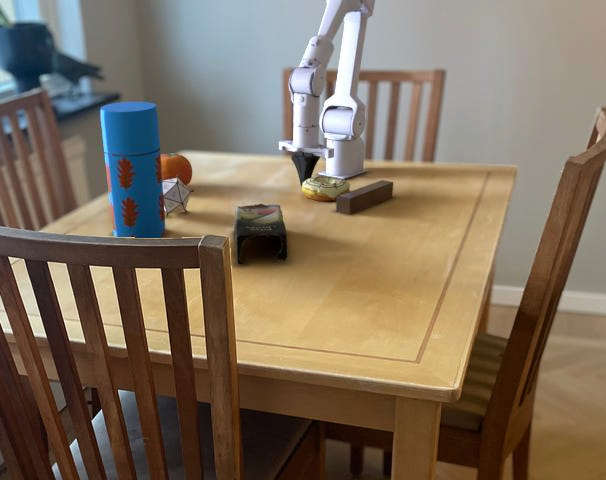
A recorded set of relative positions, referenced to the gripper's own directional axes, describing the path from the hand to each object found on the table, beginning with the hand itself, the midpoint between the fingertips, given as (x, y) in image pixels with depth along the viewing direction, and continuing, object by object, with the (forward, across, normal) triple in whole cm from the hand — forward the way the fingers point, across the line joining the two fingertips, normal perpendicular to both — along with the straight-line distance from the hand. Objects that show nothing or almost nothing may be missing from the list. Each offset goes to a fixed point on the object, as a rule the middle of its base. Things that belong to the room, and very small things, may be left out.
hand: (305, 185), depth 184 cm
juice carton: (+2, +18, -35) cm, 39 cm away
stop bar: (+1, +17, 0) cm, 17 cm away
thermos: (+2, -6, -45) cm, 45 cm away
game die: (+2, -12, -31) cm, 33 cm away
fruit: (+2, -27, -18) cm, 32 cm away
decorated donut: (+2, +6, 0) cm, 7 cm away
